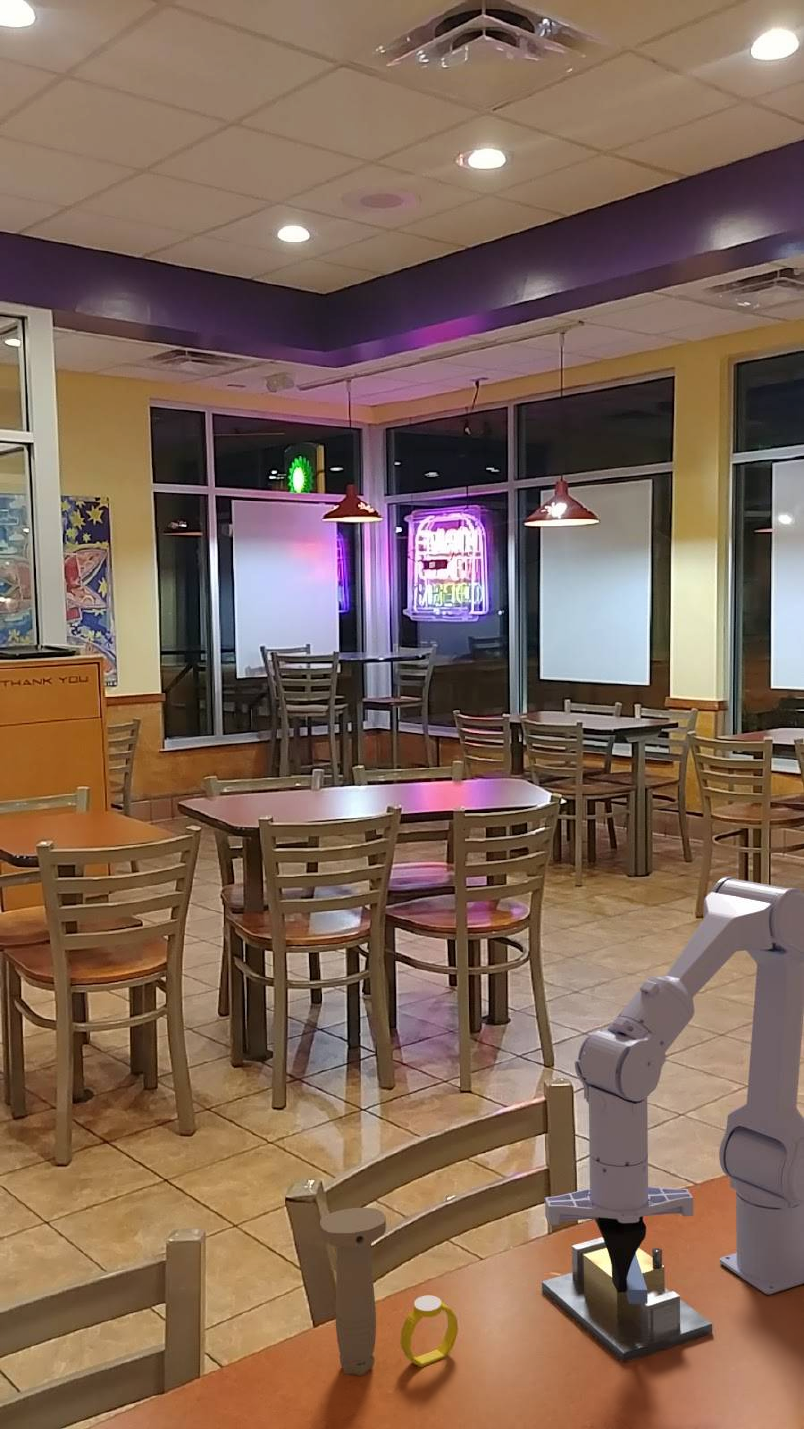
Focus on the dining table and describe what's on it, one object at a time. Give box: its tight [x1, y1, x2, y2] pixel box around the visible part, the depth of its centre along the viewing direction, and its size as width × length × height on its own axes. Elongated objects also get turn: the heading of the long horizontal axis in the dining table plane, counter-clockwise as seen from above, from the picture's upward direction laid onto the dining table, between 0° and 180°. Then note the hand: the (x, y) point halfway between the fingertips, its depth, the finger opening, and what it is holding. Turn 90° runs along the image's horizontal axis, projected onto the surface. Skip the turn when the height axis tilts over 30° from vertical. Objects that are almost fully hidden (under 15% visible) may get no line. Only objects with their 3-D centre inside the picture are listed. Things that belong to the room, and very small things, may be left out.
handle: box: [319, 1207, 387, 1377], centre depth 119 cm, size 5×6×15 cm
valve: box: [541, 1237, 713, 1364], centre depth 128 cm, size 11×15×7 cm
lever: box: [626, 1254, 648, 1304], centre depth 124 cm, size 11×3×2 cm, turn 178°
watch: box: [400, 1294, 459, 1368], centre depth 121 cm, size 6×3×6 cm, turn 122°
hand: (619, 1287), depth 121 cm, fingers closed, pressing on lever
